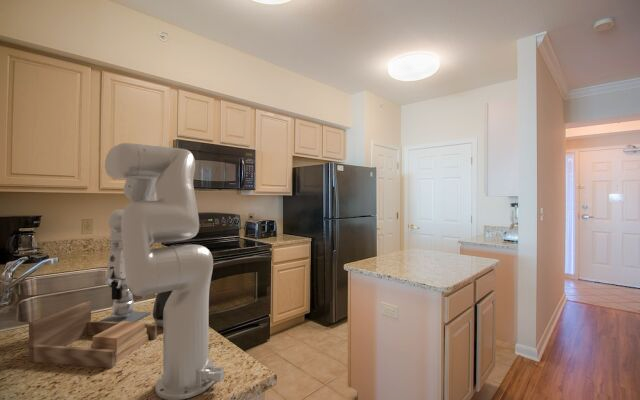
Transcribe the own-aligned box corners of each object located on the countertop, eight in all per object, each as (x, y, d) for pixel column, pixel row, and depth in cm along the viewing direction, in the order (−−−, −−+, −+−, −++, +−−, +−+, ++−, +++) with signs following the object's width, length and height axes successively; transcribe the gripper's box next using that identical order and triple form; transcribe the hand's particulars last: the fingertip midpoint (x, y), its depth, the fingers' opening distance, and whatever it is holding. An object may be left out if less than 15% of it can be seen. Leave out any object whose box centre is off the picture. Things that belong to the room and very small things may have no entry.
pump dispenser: (165, 333, 96) (165, 285, 96) (146, 326, 101) (146, 280, 101) (193, 322, 105) (193, 278, 105) (174, 316, 110) (174, 274, 110)
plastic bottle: (121, 319, 103) (121, 259, 103) (107, 316, 105) (107, 258, 105) (138, 312, 109) (138, 256, 109) (124, 310, 111) (124, 255, 112)
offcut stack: (148, 341, 91) (148, 320, 91) (116, 362, 79) (116, 339, 79) (123, 339, 92) (123, 319, 92) (88, 360, 80) (88, 337, 80)
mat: (150, 313, 113) (150, 312, 113) (125, 327, 101) (125, 325, 101) (121, 312, 114) (121, 310, 114) (93, 325, 102) (93, 323, 102)
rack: (156, 337, 93) (156, 304, 93) (112, 367, 76) (112, 327, 76) (86, 332, 96) (86, 301, 96) (28, 361, 80) (28, 322, 80)
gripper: (113, 248, 98) (113, 305, 98) (149, 241, 115) (150, 289, 115) (92, 248, 99) (92, 304, 99) (131, 241, 116) (131, 289, 116)
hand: (123, 296), depth 107 cm, fingers closed on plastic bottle, 5 cm apart
